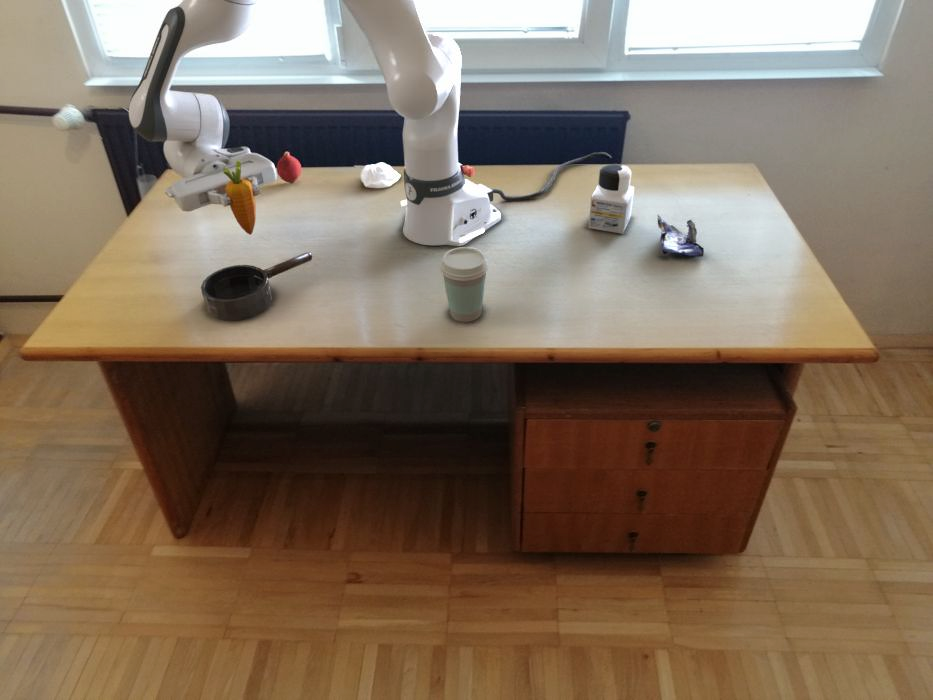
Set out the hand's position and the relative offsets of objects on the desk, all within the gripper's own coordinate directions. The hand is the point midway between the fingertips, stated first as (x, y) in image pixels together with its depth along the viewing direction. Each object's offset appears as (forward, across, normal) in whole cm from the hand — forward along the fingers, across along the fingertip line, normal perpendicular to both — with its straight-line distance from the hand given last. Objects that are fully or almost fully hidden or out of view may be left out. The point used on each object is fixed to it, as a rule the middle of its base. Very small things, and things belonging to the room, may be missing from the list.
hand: (242, 196), depth 136 cm
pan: (+8, -8, +16) cm, 20 cm away
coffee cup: (+39, +22, +17) cm, 48 cm away
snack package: (+51, +70, +17) cm, 88 cm away
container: (+35, +67, +17) cm, 77 cm away
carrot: (-1, 0, +9) cm, 9 cm away
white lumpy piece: (-17, +42, +17) cm, 48 cm away
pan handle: (+7, +3, +14) cm, 16 cm away
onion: (-31, +24, +17) cm, 43 cm away
